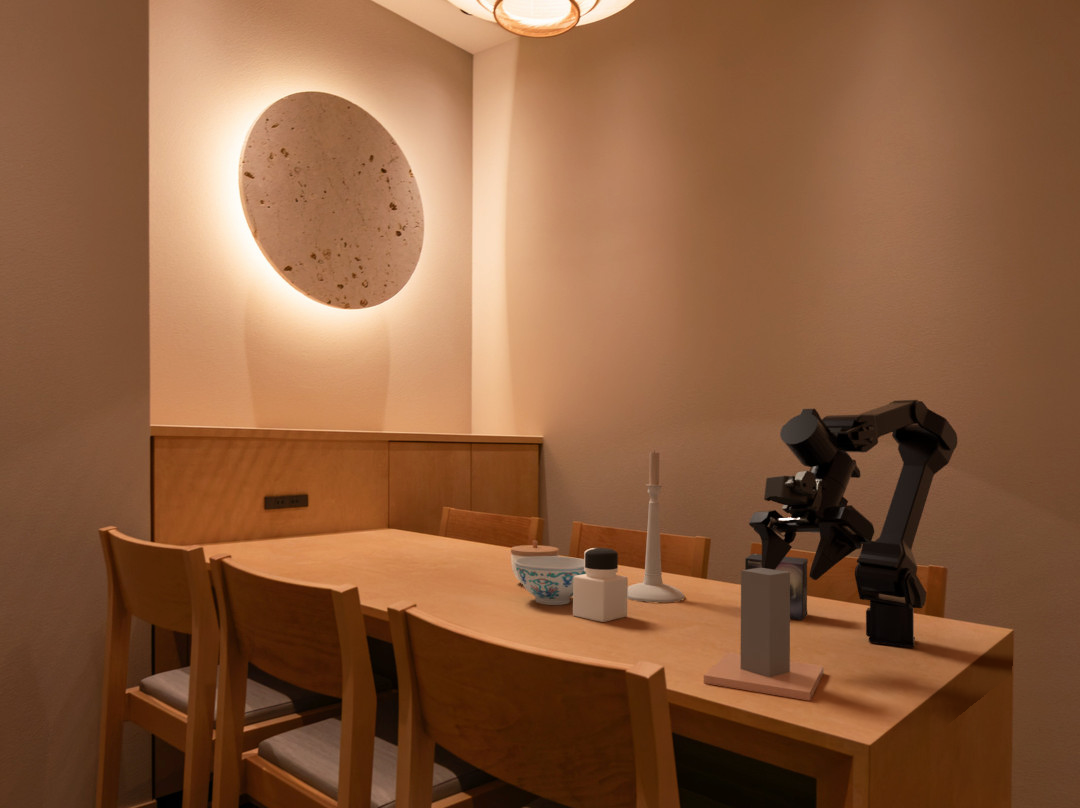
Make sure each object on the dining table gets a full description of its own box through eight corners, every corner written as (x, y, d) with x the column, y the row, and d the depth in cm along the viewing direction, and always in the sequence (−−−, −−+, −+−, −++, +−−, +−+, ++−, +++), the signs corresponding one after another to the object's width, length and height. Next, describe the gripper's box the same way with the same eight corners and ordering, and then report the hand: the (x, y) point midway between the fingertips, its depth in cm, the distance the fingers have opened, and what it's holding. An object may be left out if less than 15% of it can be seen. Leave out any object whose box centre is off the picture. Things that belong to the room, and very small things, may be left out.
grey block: (760, 663, 102) (761, 567, 103) (789, 671, 98) (790, 572, 99) (740, 668, 99) (741, 570, 100) (769, 677, 96) (769, 575, 97)
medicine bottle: (628, 616, 134) (629, 549, 134) (603, 623, 128) (604, 552, 129) (596, 610, 139) (598, 545, 139) (571, 616, 133) (573, 548, 134)
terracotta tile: (823, 673, 102) (823, 665, 102) (809, 700, 90) (809, 692, 90) (727, 659, 108) (727, 651, 108) (703, 683, 96) (703, 675, 96)
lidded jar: (567, 583, 166) (568, 540, 167) (542, 590, 157) (543, 545, 158) (527, 577, 172) (528, 536, 172) (500, 584, 163) (501, 541, 163)
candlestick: (615, 599, 149) (617, 449, 151) (628, 588, 161) (630, 449, 163) (679, 605, 145) (681, 450, 147) (688, 593, 157) (689, 451, 159)
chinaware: (546, 591, 156) (547, 553, 157) (605, 601, 147) (606, 562, 147) (498, 601, 145) (499, 561, 145) (559, 613, 135) (560, 570, 136)
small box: (743, 614, 138) (743, 557, 139) (750, 607, 144) (751, 553, 145) (802, 621, 133) (802, 562, 134) (808, 614, 139) (808, 557, 140)
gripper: (744, 460, 116) (704, 545, 110) (839, 445, 100) (798, 545, 94) (792, 501, 119) (756, 586, 113) (892, 493, 103) (855, 592, 97)
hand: (787, 577), depth 104 cm, fingers open, 9 cm apart
